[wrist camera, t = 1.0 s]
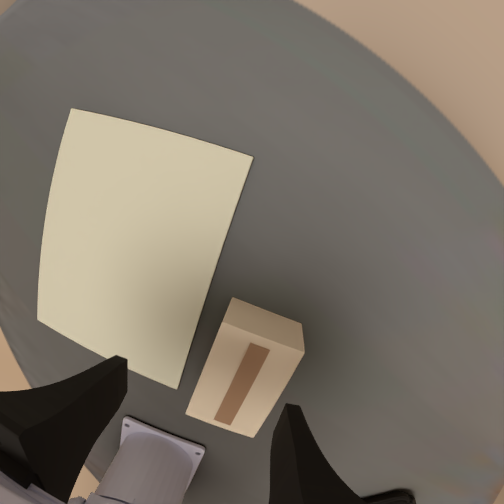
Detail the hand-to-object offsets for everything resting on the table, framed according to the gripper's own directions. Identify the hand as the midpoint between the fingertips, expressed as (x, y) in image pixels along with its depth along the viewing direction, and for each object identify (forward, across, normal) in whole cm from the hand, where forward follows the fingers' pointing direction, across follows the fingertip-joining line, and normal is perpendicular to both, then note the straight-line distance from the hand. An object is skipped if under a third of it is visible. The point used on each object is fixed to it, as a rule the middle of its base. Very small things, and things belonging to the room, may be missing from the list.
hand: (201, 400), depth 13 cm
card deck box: (+9, -2, +3) cm, 10 cm away
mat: (+9, +9, -2) cm, 13 cm away
